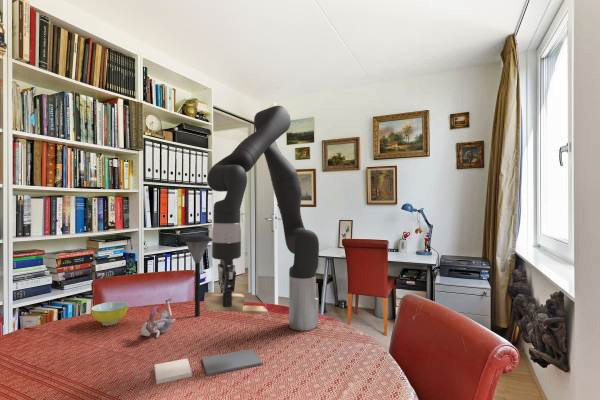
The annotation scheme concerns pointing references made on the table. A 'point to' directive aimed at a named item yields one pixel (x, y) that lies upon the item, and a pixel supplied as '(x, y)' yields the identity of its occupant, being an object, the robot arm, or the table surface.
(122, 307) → the bowl
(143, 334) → the figurine
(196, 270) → the solar garden light
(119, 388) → the table surface
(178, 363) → the tile
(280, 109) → the robot arm
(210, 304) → the beige wooden bar
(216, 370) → the mat
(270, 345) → the table surface
